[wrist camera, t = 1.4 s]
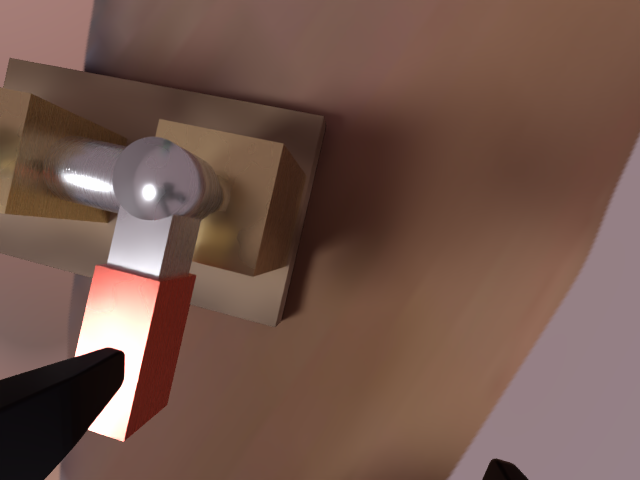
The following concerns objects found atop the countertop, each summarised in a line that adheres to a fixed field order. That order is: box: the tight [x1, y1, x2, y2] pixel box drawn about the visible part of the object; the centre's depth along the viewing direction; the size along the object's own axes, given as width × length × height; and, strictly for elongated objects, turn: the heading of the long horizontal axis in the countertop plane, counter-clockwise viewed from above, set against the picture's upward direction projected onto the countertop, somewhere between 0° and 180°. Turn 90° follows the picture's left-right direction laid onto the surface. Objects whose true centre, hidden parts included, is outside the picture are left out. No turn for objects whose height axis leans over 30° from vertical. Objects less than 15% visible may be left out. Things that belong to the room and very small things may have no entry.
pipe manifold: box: [0, 87, 307, 277], centre depth 15 cm, size 6×23×10 cm, turn 77°
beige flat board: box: [0, 58, 326, 327], centre depth 21 cm, size 13×22×2 cm, turn 77°
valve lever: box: [75, 137, 219, 441], centre depth 11 cm, size 9×3×2 cm, turn 167°
